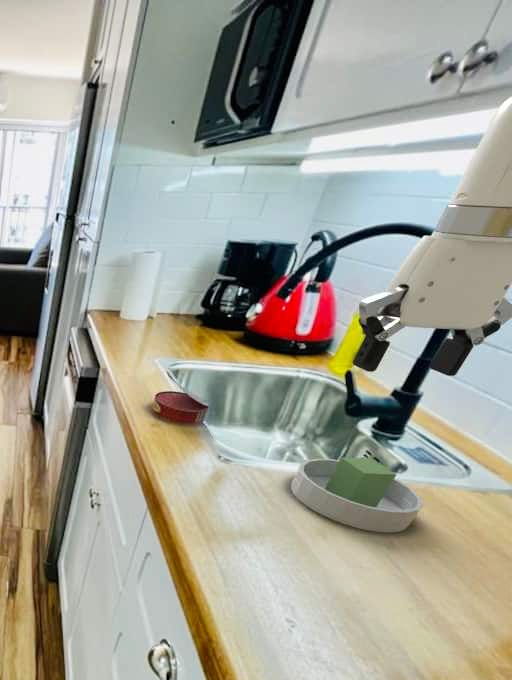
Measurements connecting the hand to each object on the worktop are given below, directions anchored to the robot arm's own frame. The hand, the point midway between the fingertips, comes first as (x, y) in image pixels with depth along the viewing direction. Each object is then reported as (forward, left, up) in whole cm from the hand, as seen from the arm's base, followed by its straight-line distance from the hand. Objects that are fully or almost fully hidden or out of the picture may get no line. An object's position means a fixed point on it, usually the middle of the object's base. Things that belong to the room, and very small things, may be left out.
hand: (401, 370), depth 62 cm
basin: (-2, +1, -21) cm, 21 cm away
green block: (-2, +1, -20) cm, 20 cm away
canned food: (+10, -29, -21) cm, 37 cm away
